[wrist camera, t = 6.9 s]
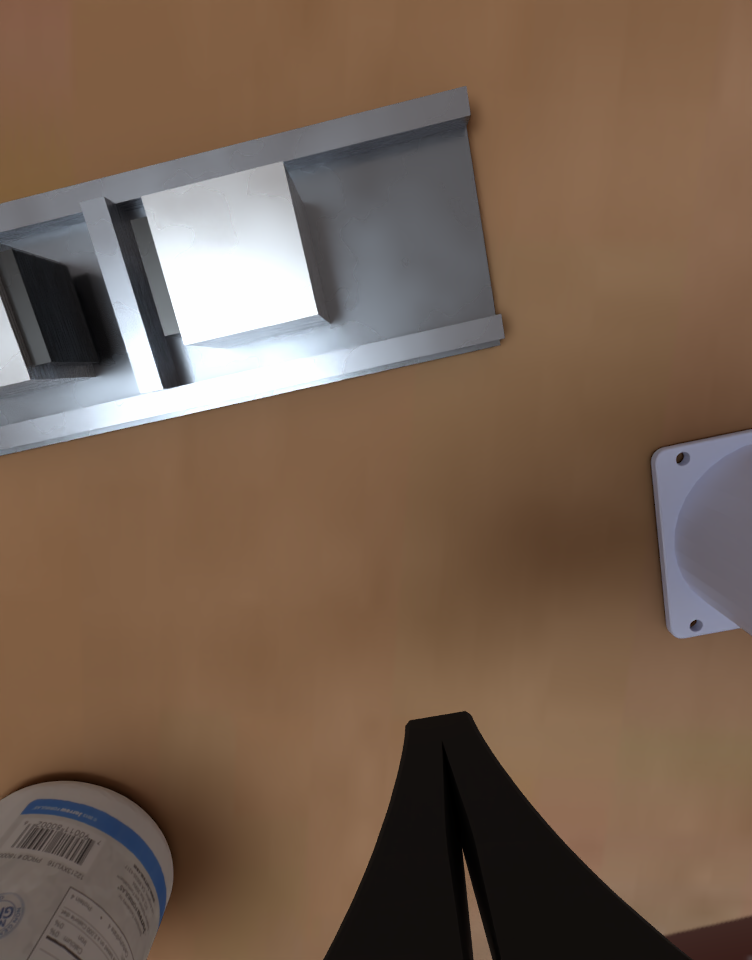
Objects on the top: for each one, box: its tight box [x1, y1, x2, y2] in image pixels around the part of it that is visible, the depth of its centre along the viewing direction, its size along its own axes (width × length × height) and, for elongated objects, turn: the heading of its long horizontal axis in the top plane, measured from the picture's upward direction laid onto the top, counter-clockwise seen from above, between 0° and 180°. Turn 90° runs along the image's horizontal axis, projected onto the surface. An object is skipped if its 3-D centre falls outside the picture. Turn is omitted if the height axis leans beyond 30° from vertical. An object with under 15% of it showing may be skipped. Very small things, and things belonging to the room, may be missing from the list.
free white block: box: [130, 161, 330, 349], centre depth 16 cm, size 5×4×4 cm
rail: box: [0, 86, 505, 456], centre depth 16 cm, size 20×8×4 cm, turn 102°
